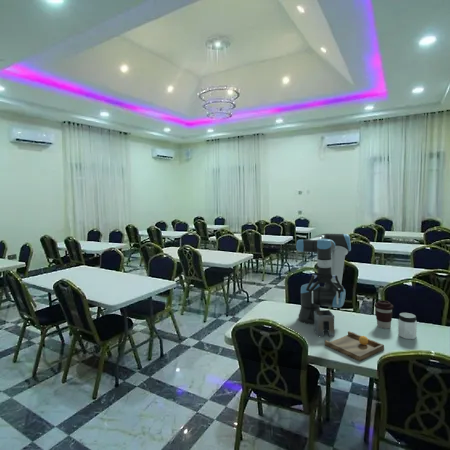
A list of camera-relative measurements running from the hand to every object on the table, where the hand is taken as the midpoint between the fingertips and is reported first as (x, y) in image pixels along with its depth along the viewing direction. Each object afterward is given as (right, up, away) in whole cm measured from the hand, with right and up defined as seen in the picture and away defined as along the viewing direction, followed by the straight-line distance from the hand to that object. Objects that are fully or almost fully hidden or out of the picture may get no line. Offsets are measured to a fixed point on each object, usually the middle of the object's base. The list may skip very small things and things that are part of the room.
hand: (324, 303), depth 182 cm
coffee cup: (+38, -17, +10) cm, 43 cm away
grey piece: (+1, -18, +4) cm, 19 cm away
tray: (+11, -20, -15) cm, 27 cm away
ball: (+16, -16, -13) cm, 27 cm away
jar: (+45, -18, -4) cm, 48 cm away
